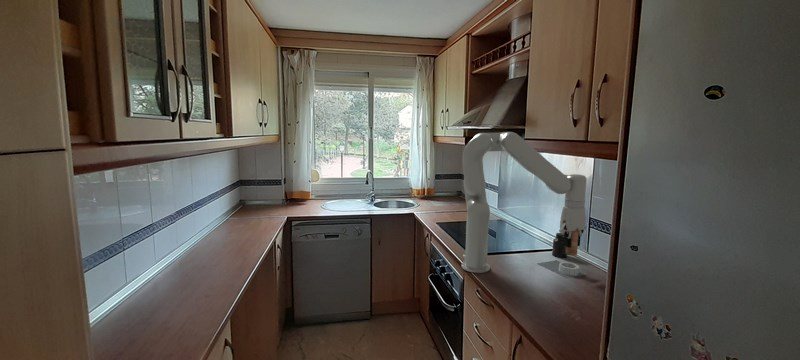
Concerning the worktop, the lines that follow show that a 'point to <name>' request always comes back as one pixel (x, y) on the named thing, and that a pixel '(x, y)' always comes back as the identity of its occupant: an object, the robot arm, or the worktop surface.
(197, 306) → the worktop surface
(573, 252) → the rail post
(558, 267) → the bracket board
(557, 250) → the supplement bottle
